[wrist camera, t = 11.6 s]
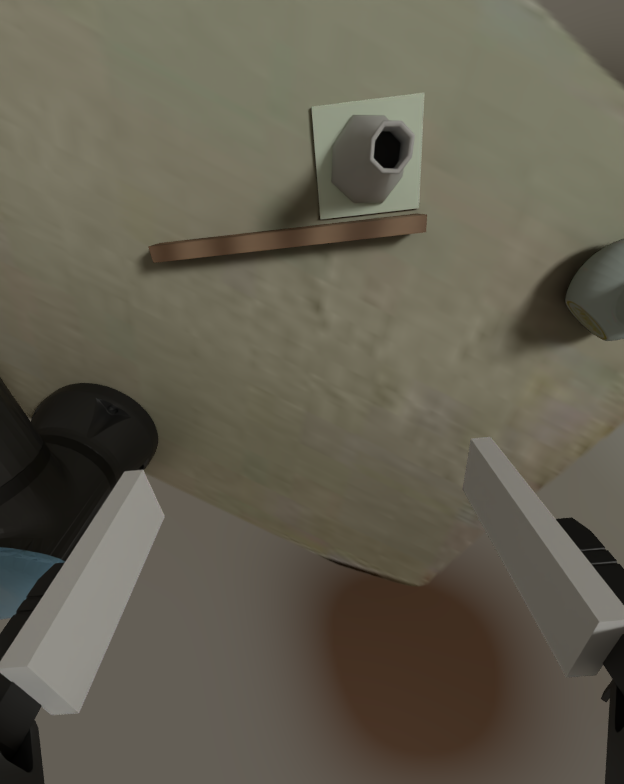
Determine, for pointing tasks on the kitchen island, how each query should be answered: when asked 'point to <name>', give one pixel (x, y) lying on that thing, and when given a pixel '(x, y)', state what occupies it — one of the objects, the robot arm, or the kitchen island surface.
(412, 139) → the flask
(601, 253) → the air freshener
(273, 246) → the rail
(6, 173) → the kitchen island surface
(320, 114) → the board
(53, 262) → the kitchen island surface
